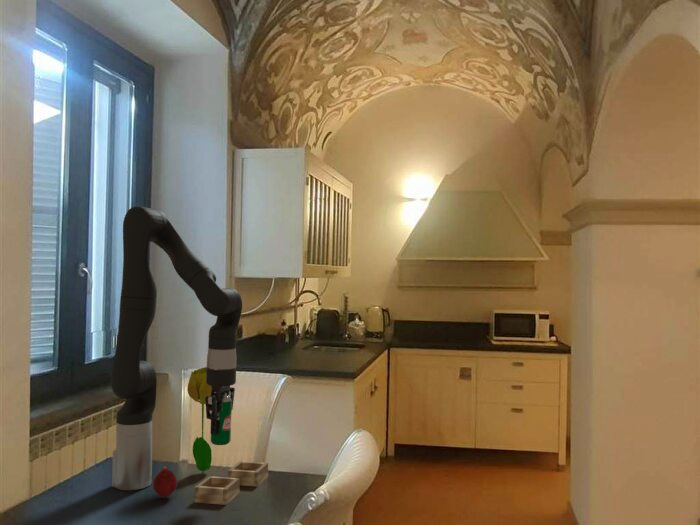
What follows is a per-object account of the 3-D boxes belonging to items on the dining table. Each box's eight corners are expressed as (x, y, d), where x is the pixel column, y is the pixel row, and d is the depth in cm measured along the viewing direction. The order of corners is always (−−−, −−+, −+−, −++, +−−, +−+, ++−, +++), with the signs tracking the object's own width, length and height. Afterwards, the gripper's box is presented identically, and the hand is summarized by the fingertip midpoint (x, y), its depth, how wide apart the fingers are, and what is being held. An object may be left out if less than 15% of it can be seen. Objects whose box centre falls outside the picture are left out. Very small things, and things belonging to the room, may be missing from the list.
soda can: (225, 446, 155) (227, 398, 155) (207, 444, 156) (208, 397, 156) (233, 441, 160) (235, 395, 160) (215, 439, 160) (216, 393, 161)
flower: (195, 467, 181) (195, 366, 181) (221, 469, 179) (222, 366, 180) (183, 477, 172) (184, 370, 173) (210, 479, 171) (211, 371, 172)
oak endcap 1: (194, 502, 153) (194, 487, 153) (209, 490, 162) (209, 476, 162) (226, 504, 152) (226, 489, 152) (239, 492, 160) (239, 478, 160)
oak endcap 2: (228, 484, 167) (228, 470, 167) (239, 474, 175) (239, 461, 175) (257, 486, 165) (257, 472, 165) (268, 476, 173) (268, 462, 173)
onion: (181, 496, 158) (181, 464, 158) (166, 503, 153) (166, 471, 153) (164, 492, 160) (164, 461, 160) (148, 499, 155) (148, 468, 155)
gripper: (218, 361, 166) (216, 423, 165) (195, 369, 151) (193, 438, 151) (245, 362, 164) (243, 426, 164) (224, 370, 150) (222, 440, 150)
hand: (219, 431), depth 158 cm, fingers closed on soda can, 5 cm apart
